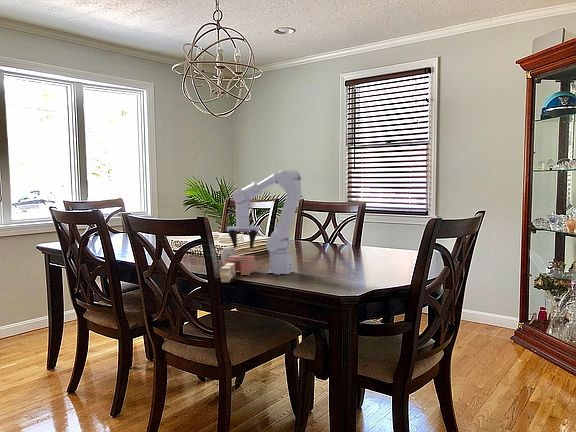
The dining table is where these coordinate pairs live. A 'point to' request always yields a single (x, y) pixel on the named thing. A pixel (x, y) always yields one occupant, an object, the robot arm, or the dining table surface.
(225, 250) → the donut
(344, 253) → the dining table surface
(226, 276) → the cream block
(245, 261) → the dispenser
